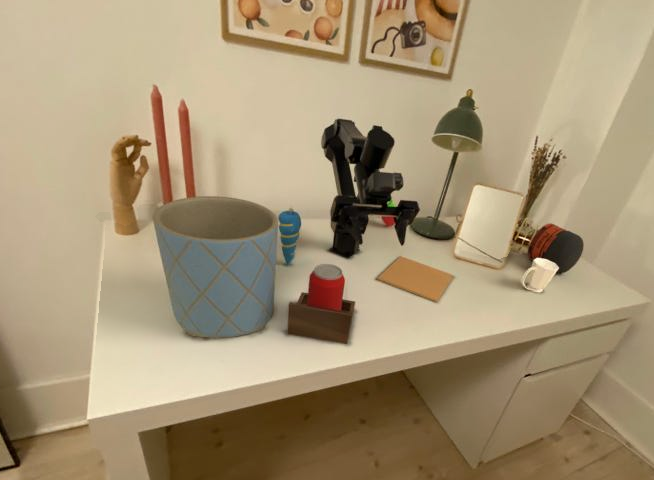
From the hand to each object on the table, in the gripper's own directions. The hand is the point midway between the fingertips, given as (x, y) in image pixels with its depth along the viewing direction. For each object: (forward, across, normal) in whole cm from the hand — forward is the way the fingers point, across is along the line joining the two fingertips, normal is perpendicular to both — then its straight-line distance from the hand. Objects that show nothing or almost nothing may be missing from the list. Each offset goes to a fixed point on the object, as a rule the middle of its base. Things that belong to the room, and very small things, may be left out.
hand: (382, 244), depth 78 cm
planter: (+9, -31, +12) cm, 34 cm away
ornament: (-8, -16, +22) cm, 29 cm away
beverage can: (+13, -12, +10) cm, 20 cm away
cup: (+4, +49, +15) cm, 52 cm away
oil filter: (-6, +66, +21) cm, 69 cm away
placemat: (-2, +16, +18) cm, 24 cm away
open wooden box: (+13, -12, +10) cm, 20 cm away
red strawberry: (-33, +19, +30) cm, 49 cm away
